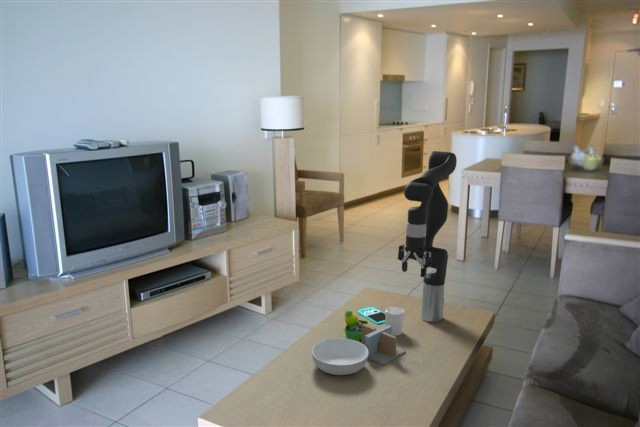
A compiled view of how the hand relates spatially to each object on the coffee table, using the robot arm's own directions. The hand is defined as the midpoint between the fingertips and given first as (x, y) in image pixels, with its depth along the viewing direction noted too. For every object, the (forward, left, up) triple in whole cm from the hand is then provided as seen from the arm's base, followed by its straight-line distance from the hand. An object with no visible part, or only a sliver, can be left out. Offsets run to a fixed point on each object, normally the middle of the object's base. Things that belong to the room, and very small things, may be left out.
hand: (413, 274), depth 205 cm
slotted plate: (+14, -5, -29) cm, 33 cm away
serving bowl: (+34, -7, -30) cm, 46 cm away
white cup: (-4, -11, -30) cm, 32 cm away
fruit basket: (+11, -20, -30) cm, 38 cm away
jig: (+14, -5, -30) cm, 34 cm away
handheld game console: (-11, -27, -31) cm, 43 cm away
